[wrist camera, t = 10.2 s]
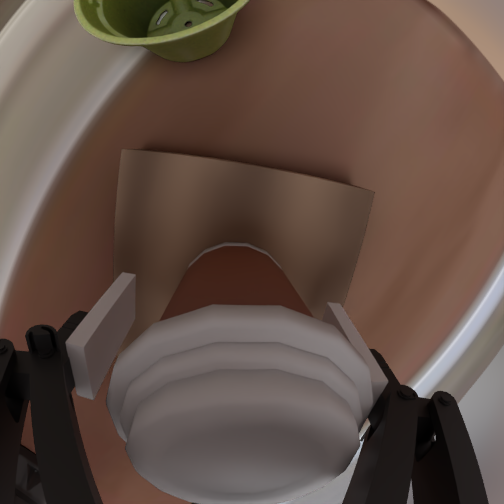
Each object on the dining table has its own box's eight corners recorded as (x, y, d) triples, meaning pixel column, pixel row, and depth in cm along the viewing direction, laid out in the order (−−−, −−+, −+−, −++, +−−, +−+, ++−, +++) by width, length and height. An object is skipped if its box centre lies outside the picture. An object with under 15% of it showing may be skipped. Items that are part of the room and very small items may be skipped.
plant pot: (219, 104, 18) (206, 70, 10) (105, 65, 17) (42, 30, 9) (276, 3, 16) (297, -64, 8) (165, -29, 14) (138, -92, 6)
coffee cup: (327, 238, 18) (450, 370, 6) (283, 359, 20) (321, 513, 9) (173, 202, 16) (71, 317, 5) (153, 336, 19) (106, 495, 8)
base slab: (131, 333, 24) (117, 361, 20) (142, 149, 19) (121, 148, 15) (303, 356, 25) (313, 387, 21) (351, 184, 21) (374, 192, 17)
